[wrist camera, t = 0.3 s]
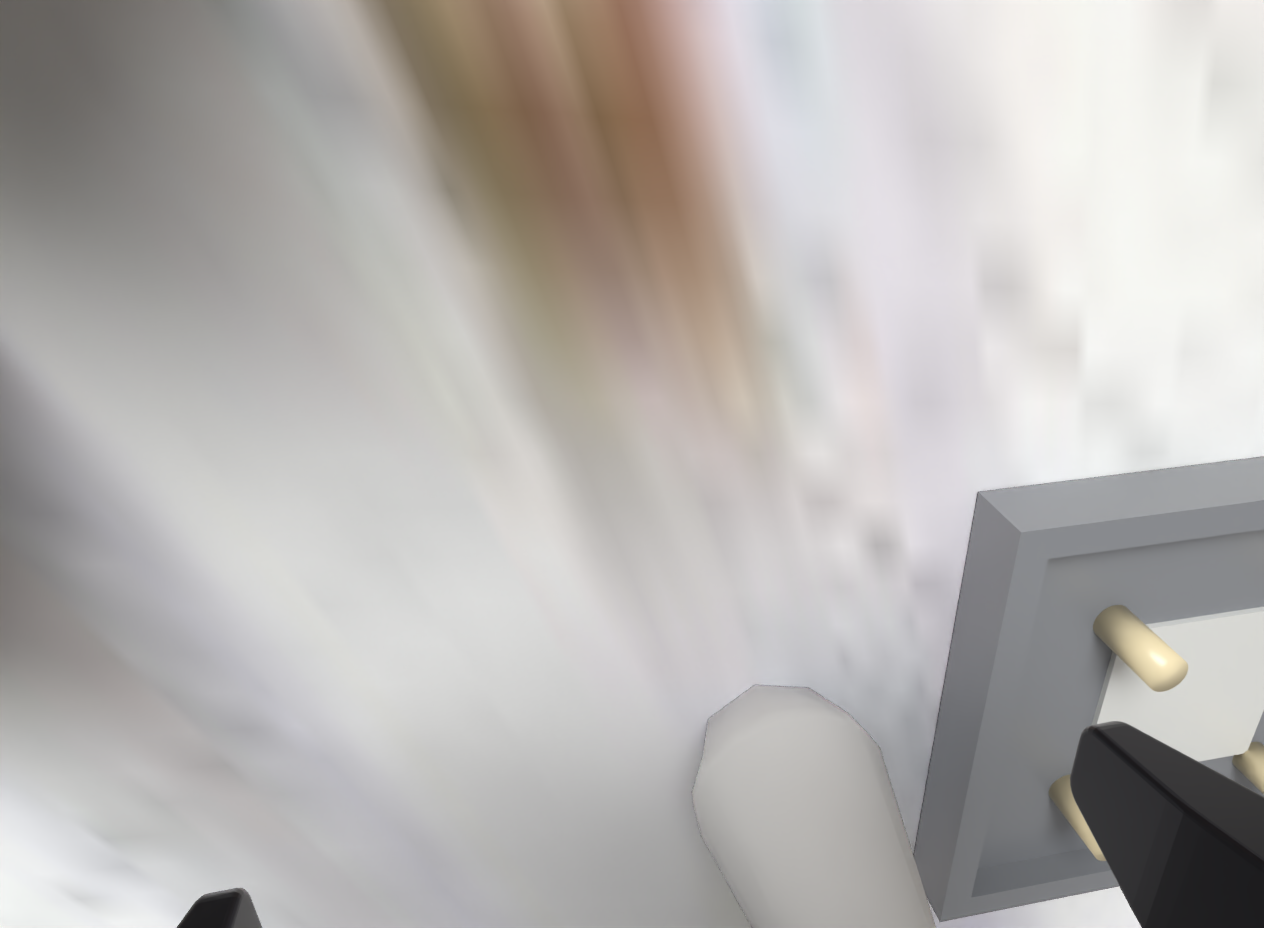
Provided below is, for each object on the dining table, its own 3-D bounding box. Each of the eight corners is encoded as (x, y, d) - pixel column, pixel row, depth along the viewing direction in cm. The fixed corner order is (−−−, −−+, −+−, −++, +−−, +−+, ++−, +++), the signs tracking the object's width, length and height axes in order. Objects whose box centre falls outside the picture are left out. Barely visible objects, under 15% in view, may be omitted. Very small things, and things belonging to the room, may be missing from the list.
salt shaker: (638, 737, 28) (774, 1248, 17) (786, 627, 27) (1037, 1090, 16) (744, 823, 31) (922, 1312, 19) (882, 726, 30) (1154, 1181, 19)
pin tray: (1290, 796, 36) (1374, 876, 33) (911, 868, 34) (961, 962, 30) (1452, 433, 28) (1581, 490, 25) (978, 492, 26) (1054, 563, 23)
